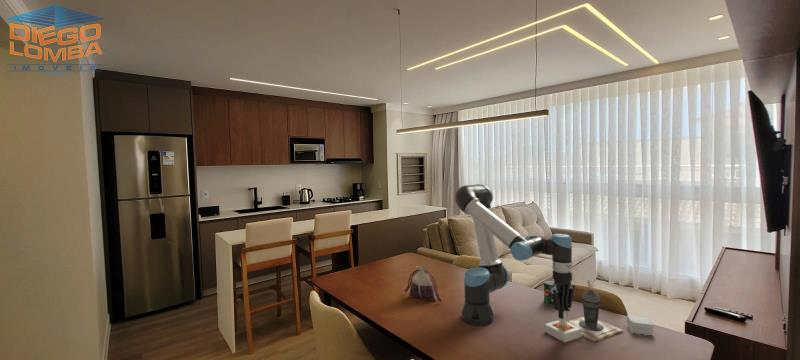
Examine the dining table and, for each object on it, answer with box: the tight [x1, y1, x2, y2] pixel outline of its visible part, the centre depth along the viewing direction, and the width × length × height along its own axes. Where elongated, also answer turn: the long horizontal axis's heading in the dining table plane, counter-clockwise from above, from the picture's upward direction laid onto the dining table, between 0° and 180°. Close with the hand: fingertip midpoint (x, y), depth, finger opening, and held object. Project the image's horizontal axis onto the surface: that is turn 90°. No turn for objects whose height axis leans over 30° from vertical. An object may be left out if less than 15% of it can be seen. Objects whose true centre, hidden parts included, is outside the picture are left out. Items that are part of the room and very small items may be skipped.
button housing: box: [544, 319, 582, 343], centre depth 142 cm, size 10×10×4 cm
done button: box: [556, 323, 570, 331], centre depth 142 cm, size 6×6×2 cm
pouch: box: [404, 265, 442, 303], centre depth 186 cm, size 25×8×19 cm, turn 57°
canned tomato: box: [543, 279, 555, 307], centre depth 175 cm, size 8×8×11 cm
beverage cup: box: [581, 279, 601, 328], centre depth 146 cm, size 7×7×20 cm
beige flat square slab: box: [567, 316, 623, 343], centre depth 146 cm, size 18×16×1 cm
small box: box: [626, 314, 654, 337], centre depth 144 cm, size 8×8×5 cm
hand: (563, 325), depth 142 cm, fingers closed
